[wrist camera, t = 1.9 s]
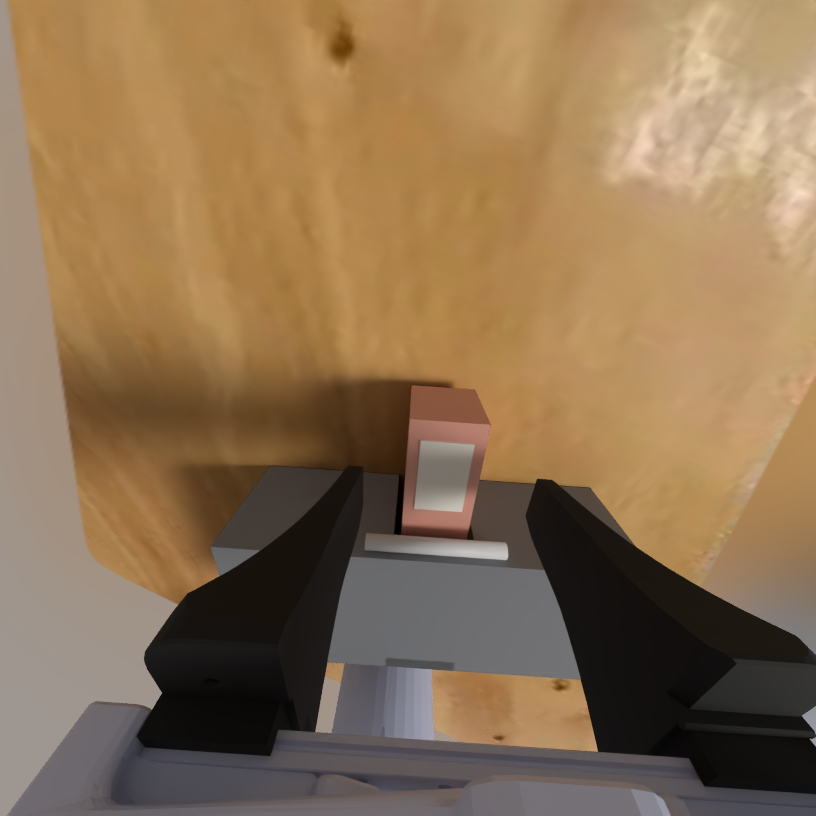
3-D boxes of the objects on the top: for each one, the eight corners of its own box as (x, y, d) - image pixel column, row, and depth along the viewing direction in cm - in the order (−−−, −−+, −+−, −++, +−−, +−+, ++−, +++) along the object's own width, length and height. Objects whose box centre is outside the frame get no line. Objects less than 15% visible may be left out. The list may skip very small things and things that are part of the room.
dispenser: (550, 581, 25) (591, 680, 19) (286, 563, 25) (246, 656, 19) (594, 478, 20) (667, 567, 14) (268, 456, 20) (206, 535, 14)
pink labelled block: (448, 542, 22) (454, 599, 18) (400, 538, 22) (396, 595, 18) (474, 389, 16) (491, 425, 13) (411, 385, 16) (409, 420, 13)
